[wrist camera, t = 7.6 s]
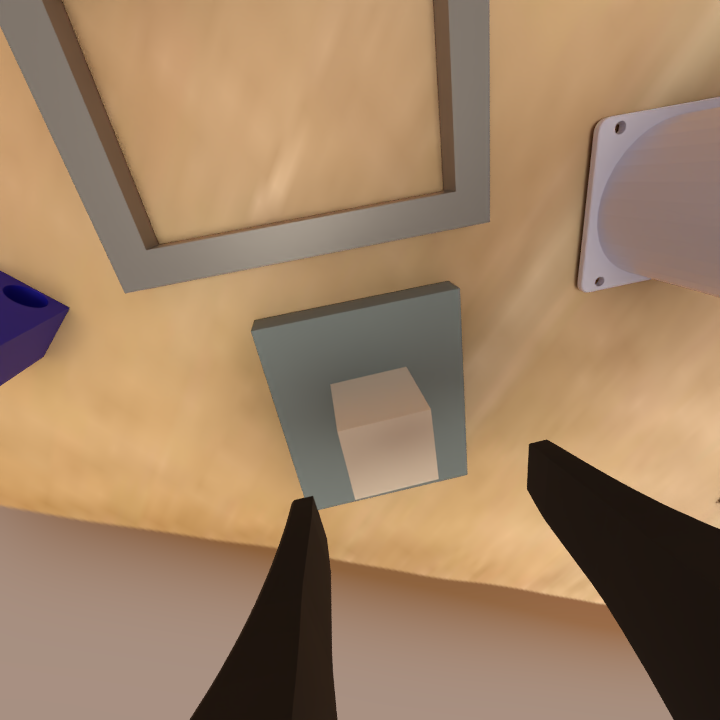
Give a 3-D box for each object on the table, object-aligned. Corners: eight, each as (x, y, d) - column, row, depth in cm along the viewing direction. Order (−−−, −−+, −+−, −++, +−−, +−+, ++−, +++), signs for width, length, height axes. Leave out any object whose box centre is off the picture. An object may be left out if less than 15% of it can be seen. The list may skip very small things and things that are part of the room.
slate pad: (448, 280, 19) (459, 288, 18) (458, 458, 24) (467, 474, 23) (254, 320, 18) (250, 331, 17) (308, 493, 24) (309, 512, 22)
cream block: (406, 366, 19) (430, 409, 15) (414, 428, 21) (438, 478, 17) (330, 384, 19) (337, 431, 15) (345, 444, 21) (355, 500, 17)
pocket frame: (468, -136, 13) (488, -175, 11) (475, 218, 18) (489, 222, 16) (-19, -70, 12) (-61, -104, 10) (139, 284, 17) (124, 293, 15)
